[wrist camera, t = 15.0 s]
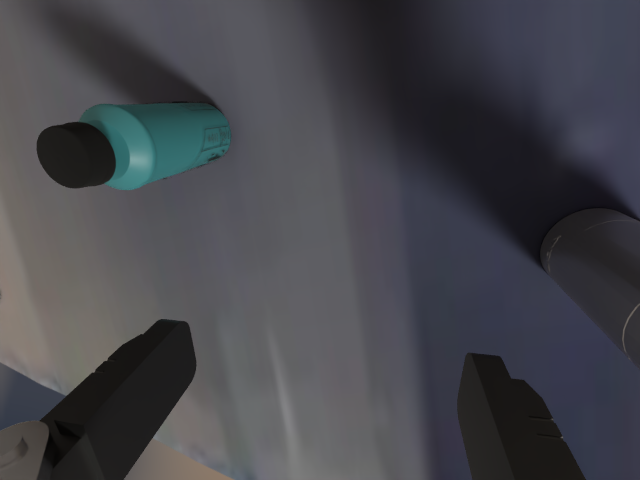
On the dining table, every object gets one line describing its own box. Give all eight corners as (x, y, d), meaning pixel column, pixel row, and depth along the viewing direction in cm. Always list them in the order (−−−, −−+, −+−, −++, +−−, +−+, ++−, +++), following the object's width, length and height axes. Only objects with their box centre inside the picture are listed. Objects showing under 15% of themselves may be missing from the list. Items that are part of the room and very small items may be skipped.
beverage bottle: (204, 88, 37) (28, 73, 19) (250, 130, 38) (124, 154, 19) (177, 134, 39) (-2, 160, 21) (220, 172, 40) (84, 228, 22)
